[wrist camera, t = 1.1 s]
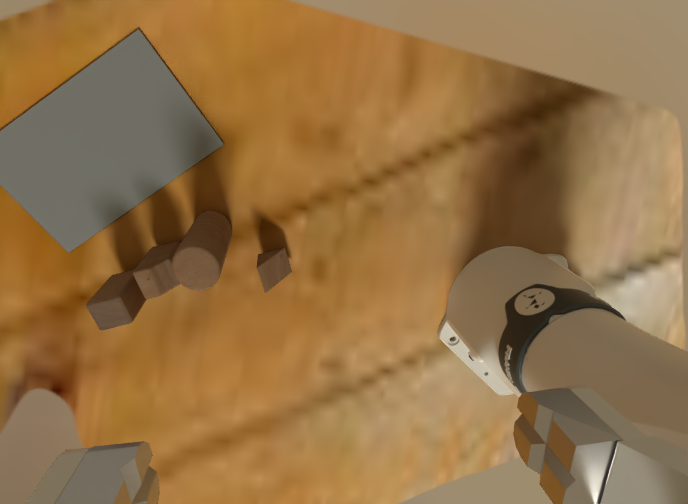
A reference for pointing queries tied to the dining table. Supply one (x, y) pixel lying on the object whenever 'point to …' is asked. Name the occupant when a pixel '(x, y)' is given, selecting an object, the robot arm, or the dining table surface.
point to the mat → (103, 143)
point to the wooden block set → (178, 271)
